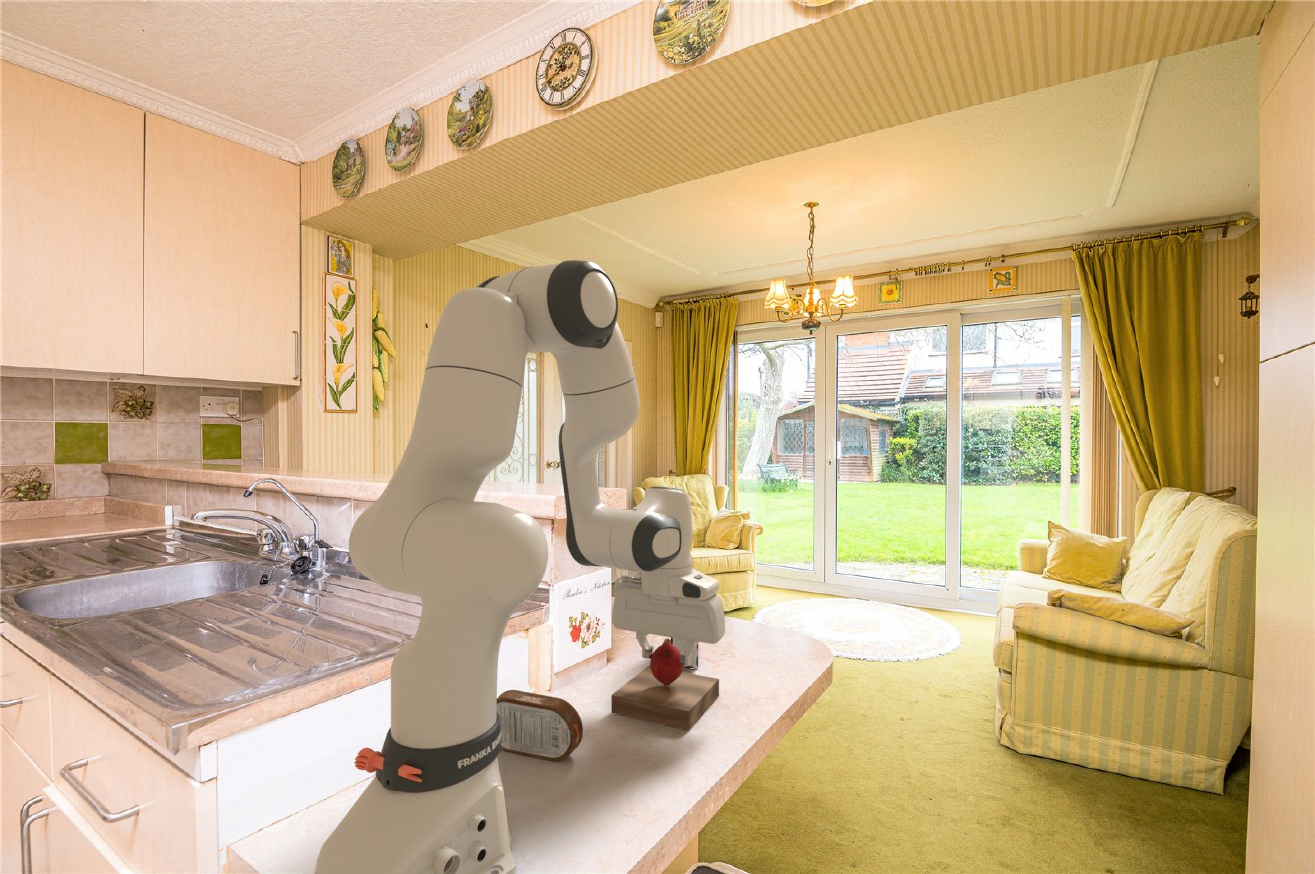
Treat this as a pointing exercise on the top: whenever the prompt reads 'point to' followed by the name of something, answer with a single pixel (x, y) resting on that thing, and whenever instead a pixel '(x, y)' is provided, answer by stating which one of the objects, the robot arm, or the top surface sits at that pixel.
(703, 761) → the top surface
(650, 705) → the walnut block
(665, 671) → the onion
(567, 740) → the tin
